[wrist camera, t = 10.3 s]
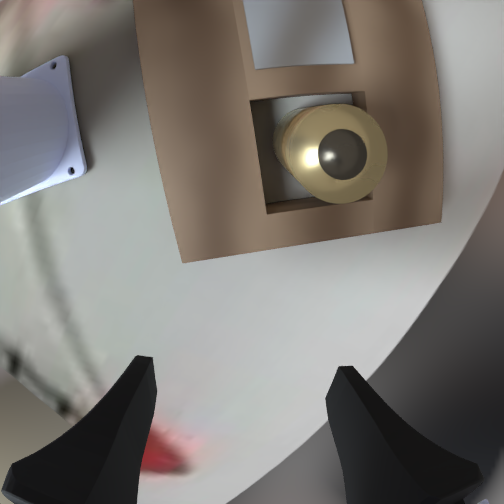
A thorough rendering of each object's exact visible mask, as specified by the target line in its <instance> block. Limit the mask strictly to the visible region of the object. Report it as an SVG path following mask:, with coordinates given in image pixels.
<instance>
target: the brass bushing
mask: <svg viewBox="0 0 504 504" xmlns="http://www.w3.org/2000/svg"><path fill="white" fill-rule="evenodd" d="M273 149H274V152H275V155H276V157H277V159H278V161H279V162H280V163H281V164H282V165H283V166H284V167H285V168H286V169H287V170H288V171H289V172H290V173H291V174H292V175H293V176H294V177H295V178H296V179H297V180H298V181H299V182H300V183H301V185H302V186H303V187H304V188H305V189H306V190H307V191H308V192H310V193H311V194H312V195H313V196H315V197H317V198H318V199H321V200H323V201H326V202H329V203H335V204H344V203H350V202H354V201H357V200H359V199H361V198H363V197H365V196H366V195H367V194H369V193H370V192H371V191H372V190H373V189H374V188H375V187H376V186H377V185H378V183H379V182H380V180H381V178H382V176H383V174H384V171H385V168H386V164H387V156H388V153H387V144H386V140H385V136H384V134H383V132H382V130H381V128H380V126H379V125H378V123H377V122H376V121H375V120H374V119H373V118H372V117H371V116H370V115H369V114H368V113H366V112H365V111H363V110H362V109H360V108H357V107H355V106H352V105H348V104H329V105H321V106H314V107H307V108H301V109H297V110H294V111H292V112H290V113H288V114H287V115H285V116H284V117H283V118H282V119H281V120H280V121H279V123H278V124H277V126H276V128H275V131H274V135H273Z"/></svg>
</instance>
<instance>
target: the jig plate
mask: <svg viewBox="0 0 504 504" xmlns="http://www.w3.org/2000/svg"><path fill="white" fill-rule="evenodd" d="M133 7H134V16H135V25H136V34H137V42H138V49H139V56H140V63H141V70H142V77H143V83H144V89H145V95H146V101H147V107H148V113H149V118H150V124H151V129H152V134H153V139H154V144H155V149H156V154H157V159H158V164H159V168H160V173H161V178H162V182H163V187H164V191H165V195H166V200H167V204H168V208H169V212H170V216H171V220H172V225H173V229H174V233H175V236H176V240H177V244H178V248H179V252H180V256H181V259H182V263H188V262H194V261H200V260H207V259H213V258H219V257H226V256H232V255H238V254H245V253H251V252H258V251H264V250H270V249H277V248H283V247H289V246H296V245H302V244H308V243H315V242H321V241H327V240H334V239H340V238H346V237H353V236H359V235H365V234H371V233H378V232H384V231H390V230H397V229H403V228H409V227H416V226H422V225H428V224H435V223H441V218H442V200H443V137H442V119H441V107H440V97H439V88H438V80H437V72H436V66H435V59H434V54H433V48H432V43H431V38H430V33H429V28H428V24H427V20H426V15H425V11H424V7H423V4H422V0H133ZM350 93H351V94H352V101H353V106H355V107H357V108H360V109H362V110H363V111H365V112H366V113H368V114H369V115H370V116H371V117H372V118H373V119H374V120H375V121H376V122H377V123H378V125H379V126H380V128H381V130H382V132H383V134H384V136H385V140H386V144H387V153H388V156H387V164H386V168H385V171H384V174H383V176H382V178H381V180H380V182H379V183H378V185H377V186H376V187H375V188H374V189H373V190H372V191H371V192H370V193H369V194H367V195H366V196H365V197H363V198H361V199H359V200H357V201H354V202H350V203H344V204H335V203H329V202H326V201H323V200H321V199H318V198H317V197H311V198H304V199H297V200H290V201H283V202H276V203H269V204H265V199H264V192H263V186H262V179H261V172H260V165H259V159H258V152H257V146H256V139H255V133H254V126H253V120H252V113H251V107H250V102H253V101H261V100H269V99H277V98H287V97H298V96H310V95H326V94H350Z"/></svg>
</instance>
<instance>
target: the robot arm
mask: <svg viewBox="0 0 504 504" xmlns="http://www.w3.org/2000/svg"><path fill="white" fill-rule="evenodd" d="M55 63H56V64H57V66H56V68H55V69H53V66H54V64H55ZM71 167H73V168H74V170H75V173H74V174H73V173H72V172H71ZM86 171H87V164H86V160H85V156H84V151H83V146H82V142H81V137H80V131H79V126H78V121H77V115H76V109H75V103H74V96H73V89H72V82H71V74H70V65H69V59H68V57H67V56H63V55H61V56H58V57H56V58H54V59H52V60H50V61H48V62H46V63H44V64H42V65H40V66H39V67H37V68H35V69H33V70H31V71H29V72H28V73H26V74H24V75H22V76H21V77H9V76H0V205H3V204H5V203H8V202H10V201H13V200H15V199H18V198H20V197H23V196H26V195H28V194H31V193H34V192H36V191H39V190H42V189H45V188H47V187H50V186H53V185H56V184H59V183H62V182H65V181H68V180H71V179H74V178H77V177H80V176H82V175H84V174H85V173H86ZM156 396H157V387H156V380H155V373H154V365H153V357H146V356H139V355H137V356H136V357H134V359H133V360H132V362H131V363H130V364H129V366H128V367H127V369H126V370H125V371H124V373H123V374H122V375H121V376H120V378H119V379H118V380H117V382H116V383H115V384H114V385H113V386H112V388H111V389H110V390H109V391H108V392H107V393H106V395H105V396H104V397H103V398H102V399H101V400H100V401H99V402H98V403H97V404H96V405H95V406H94V408H93V409H92V410H91V411H90V412H89V413H88V414H87V415H85V416H84V417H83V418H82V419H81V420H80V421H79V422H78V423H77V424H75V425H74V426H73V427H72V428H70V429H69V430H68V431H67V432H65V433H64V434H63V435H62V436H60V437H59V438H57V439H56V440H54V441H53V442H51V443H50V444H48V445H47V446H45V447H43V448H42V449H41V450H39V451H37V452H35V453H34V454H31V455H29V456H28V457H25V458H23V459H21V460H19V461H17V462H15V463H12V465H11V467H10V469H9V471H8V474H7V476H6V478H5V481H4V484H3V487H2V490H1V491H2V493H3V495H4V496H5V497H6V498H8V499H9V500H10V501H12V502H13V503H14V504H137V495H138V484H139V475H140V467H141V462H142V458H143V454H144V450H145V446H146V442H147V438H148V434H149V431H150V427H151V423H152V419H153V415H154V410H155V403H156ZM325 400H326V407H327V414H328V420H329V423H330V427H331V431H332V434H333V437H334V441H335V444H336V447H337V451H338V455H339V458H340V462H341V466H342V470H343V476H344V482H345V490H346V500H347V504H465V503H464V500H463V498H465V497H466V496H467V495H469V494H470V493H471V492H473V491H474V490H475V489H476V488H478V487H479V486H480V485H481V484H482V483H483V481H484V477H483V475H482V473H481V471H480V468H479V466H478V465H477V464H476V463H474V462H471V461H469V460H466V459H464V458H461V457H458V456H456V455H455V454H452V453H451V452H449V451H447V450H445V449H443V448H441V447H440V446H438V445H436V444H435V443H433V442H432V441H430V440H429V439H427V438H425V437H424V436H423V435H421V434H420V433H419V432H417V431H416V430H415V429H413V428H412V427H411V426H410V425H408V424H407V423H406V422H405V421H404V420H403V419H402V418H401V417H399V416H398V415H397V414H396V413H395V412H394V411H393V410H392V409H391V408H390V407H389V406H388V405H387V404H386V403H385V402H384V401H383V399H382V398H381V397H380V396H379V395H378V394H377V393H376V392H375V391H374V390H373V389H372V387H371V386H370V385H369V384H368V383H367V382H366V381H365V379H364V378H363V377H362V376H361V375H360V374H359V373H358V371H357V370H356V369H355V368H354V367H353V366H339V367H338V369H337V372H336V374H335V377H334V379H333V382H332V384H331V386H330V389H329V391H328V393H327V396H326V398H325ZM478 504H489V502H488V500H487V499H485V500H483V501H481V502H480V503H478Z"/></svg>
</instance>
